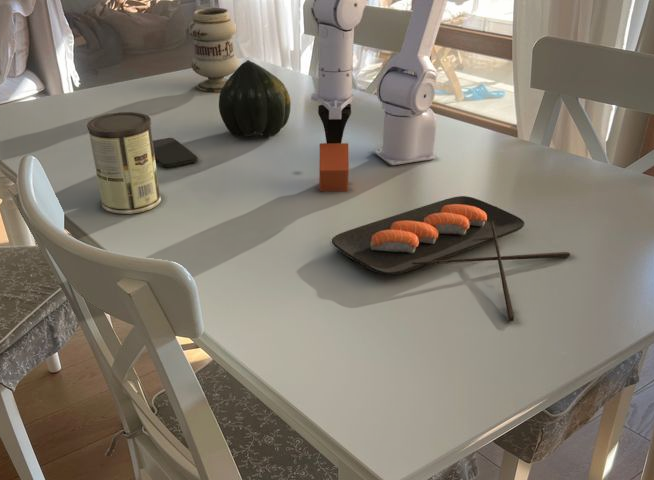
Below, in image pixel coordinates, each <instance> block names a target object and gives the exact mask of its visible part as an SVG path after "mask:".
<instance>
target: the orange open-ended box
mask: <svg viewBox="0 0 654 480" xmlns="http://www.w3.org/2000/svg"><path fill="white" fill-rule="evenodd" d="M349 155H350V154H349V143H348V142H341V143H326V142H324V143H322V142H321V143H319V165H318V166H319V167H318V168H319V169H318V170H319V173H318V176H319V177H318V180H319V181H318V183H319V184H318V191H319V192H333V191H334V192H343V191H345V192H348V189H349V175H350V173H349V172H350V163H349V162H350V161H349Z"/></svg>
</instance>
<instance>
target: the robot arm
mask: <svg viewBox="0 0 654 480" xmlns="http://www.w3.org/2000/svg"><path fill="white" fill-rule="evenodd" d="M368 1H369V0H313V4H312V6H311V7H310V15H311V18H312V20H313V22H314V23H315V27H316V28H315V30H316V31H315V32H316V35H317V38H318V55H317V58H318V59H317V60H318V61H317V63H318V68H317V70H318V71H317V73H318V75H317V76H318V77H317V78H318V79H317V80H318V81H317V93H311V101H313V102H318V103H320V105H318V107H317V114H318V116H319V118H320V120H321V123H322V125H323V129H324V136H325V143H343V142H342V141H343V136H344V132H345V128H346V124H347V122H348V120H349V118H350V117H351V114H352V105H351V103H352V101H353V99H354V94H353V69H354V68H353V66H354V40H355V27H357V25H359V24H360V23H361V21H362V17H363V14H364V10H365V8H366V7H367V4H368ZM447 3H448V0H415V1H414V5H413V8H412V11H411V15H410V19H409V23H408V25H407V29H406V32H405V36H404V39H403V42H402V46H401V49H400V52H398V53H397V54H396V55H394V56H393V57H391V58H390V59H389V60H388V61H387V63H386V66H385V68H384V70H383V73H382V74H381V75H380V77H379V79H378V80H377V81H378V82H377V85H376V96H377V99H378V101H379V103H381V109H382V110H384V115H383V117H384V118H383V131H382V132H383V134H382V148H379V149H374V150H373V154H375V155H376V156H378V157H379V158H380V159H382V160H383V161H384V162H386V163H387V164H388V165H390V166H398V165H404V164H411V163H416V162H417V163H418V162H423V161H429V160H435V159H436V156H435V155H434V151H435V143H436V133H437V119H436V114H435V112H434V110H433V109H432V108H430V107H431V106H432V105H433V102H434V100H435V96H436V84H437V83H436V82H437V79H438V76H439V74H438V71H437V69H436V67H435V66H434V65H433V63H432V62H431V56H432V52H433V49H434V46H435V43H436V39H437V36H438V34H439V30H440V27H441V24H442V20H443V17H444V15H445V14H444V13H445V11H446V7H447ZM407 72H412V73H415V74H412V73H407Z"/></svg>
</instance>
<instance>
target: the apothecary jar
mask: <svg viewBox="0 0 654 480" xmlns="http://www.w3.org/2000/svg"><path fill="white" fill-rule="evenodd" d="M192 19H193V20H192V21H191V22H190V23H189V25H188V33H189V35H190V37H192V38H193V41H194V56H193V58H192V59H191V63H190V65H191V69H192V71H193V72H194V73H195V74H197V75H198V76H201V77H203V78H207V79H205V80H203V81H201V82H199V83H198V84H197V89H198V90H200V91H202V92H213V93H220V92H221V90H222V88H223V86H224V85H225V83H226V82H227V80H228V79H229V78H225V77H228V76H231V75H232V74H233V73H234V72H235V71H236V70H237V69H238V67H239V66H240V60H239V58H238V57H237V55H236V54H235V53H234V44H233V36H234V35H235V34H236V31H237V25H236V22H234V20H233V19H231V18H230V14H229V10H228V9H227V8H223V7H209V8H201V9H197V10H194V12H193V18H192Z"/></svg>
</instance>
